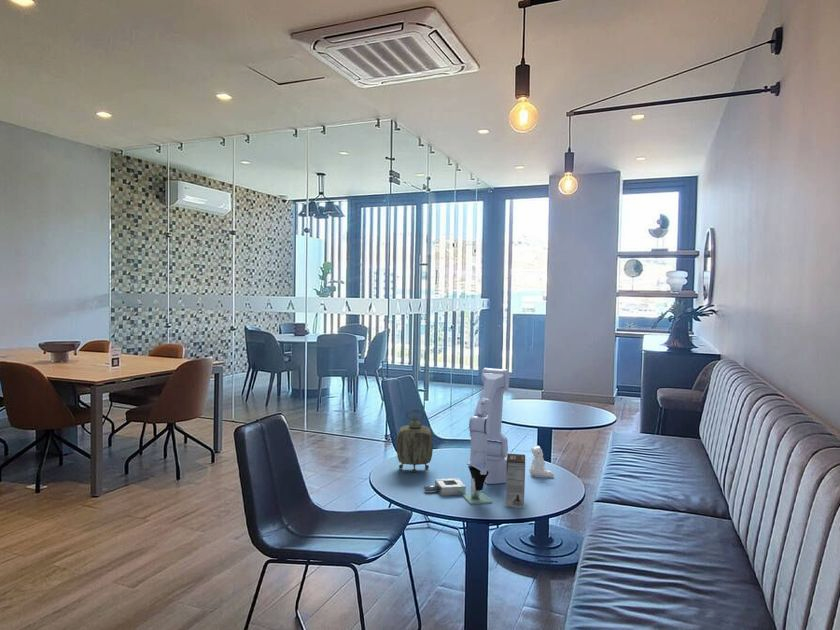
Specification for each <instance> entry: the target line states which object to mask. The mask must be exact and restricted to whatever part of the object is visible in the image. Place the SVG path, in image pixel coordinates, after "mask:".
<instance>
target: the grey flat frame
mask: <svg viewBox="0 0 840 630" xmlns="http://www.w3.org/2000/svg"><path fill="white" fill-rule="evenodd" d="M423 489H424V492H438V493H439V495H440V496H441V497H447V496H463V495H464V494H467V493H466V491H467V490H466V489H467V487H466V485H465V483H464V482H463V481H462V480H461V479H460V478H459V477H454V478H438V479H436V478H435V479H434V485H428V486H426V485H425V486H424V488H423Z"/></svg>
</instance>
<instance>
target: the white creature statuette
mask: <svg viewBox="0 0 840 630" xmlns="http://www.w3.org/2000/svg"><path fill="white" fill-rule="evenodd" d="M530 451H531V453H532V455H533V456H534V457H533V459H532V460H531V461H532V463H531V464H530V466H529V469H528V470H529V473H530V475H531V476H532V477H534V478H550V479H553V478H554V477H555V473H554V472H552V471H551V470H547V469H546V465H545V464H546V462H545V459H544V453H543V449H542V448H541V446H540V445H535V446H534V447H532V446H531V447H530Z"/></svg>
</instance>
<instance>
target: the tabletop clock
mask: <svg viewBox="0 0 840 630" xmlns="http://www.w3.org/2000/svg"><path fill="white" fill-rule="evenodd" d="M413 412H418V413H421V414H422V417H419V418H417V416H414V417H410V416H409V415H410V413H413ZM406 417H407V418H408V419H409V420H410V423H408V425H402V426H400V427H399V429H398V432H397V437H396V438H397V439H396V455H397V460H398V462H399V463H401V464H400V465H399V466H398V468H399V469H403V467H404V466H403V465H411V466H413V469H412V473H413V474H416V473H417V469H416V466H418V465H421V466H422V465H424V469H426V470H428V469H429V468H430V465H428V464H430V462H431V460H432V459H433V458H432V457H433V452H434V451H433V450H434V445H433V444H434V442H433V434H432V430H431V427H429V426H426V425H422V424H421V422H420V420H422V419H423V418H424V417H425V414H424V411H422V410H419V409H411V410H409V411H408V412H407V413H406Z"/></svg>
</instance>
